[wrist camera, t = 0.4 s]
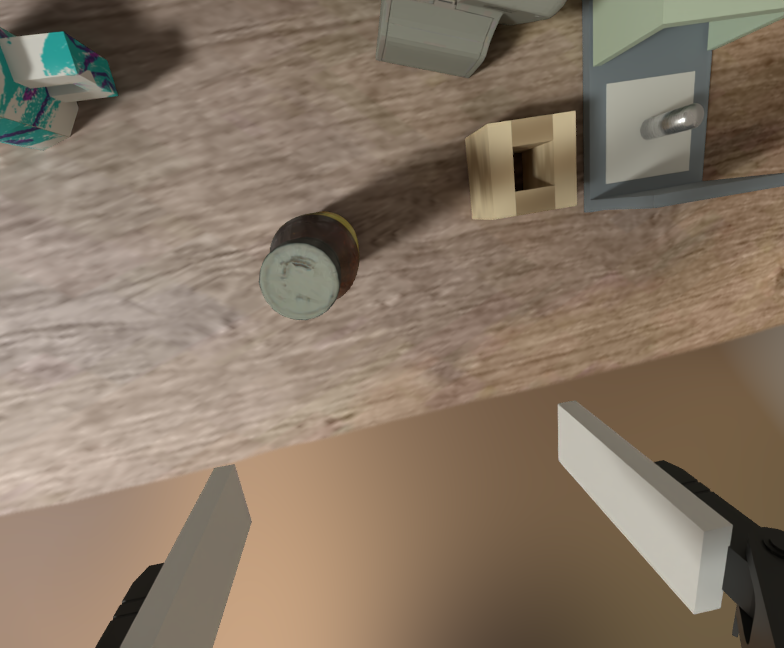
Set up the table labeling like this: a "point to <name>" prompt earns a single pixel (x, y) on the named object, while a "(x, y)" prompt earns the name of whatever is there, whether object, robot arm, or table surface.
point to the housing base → (642, 101)
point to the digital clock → (450, 30)
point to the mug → (46, 86)
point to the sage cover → (675, 21)
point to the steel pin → (672, 122)
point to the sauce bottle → (309, 265)
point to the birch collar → (523, 166)
